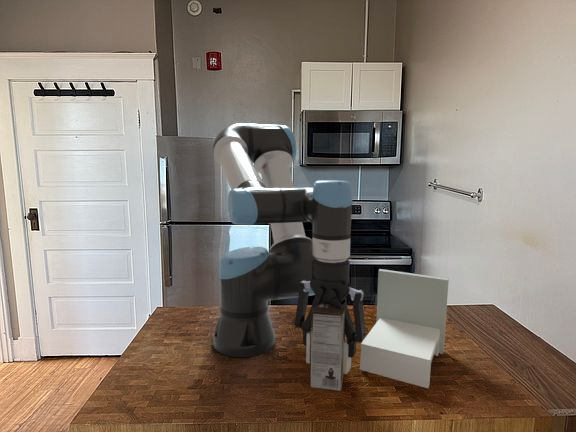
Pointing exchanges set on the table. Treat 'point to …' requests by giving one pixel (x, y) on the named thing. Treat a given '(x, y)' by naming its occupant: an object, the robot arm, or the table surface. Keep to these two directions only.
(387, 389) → the table surface
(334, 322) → the coffee box
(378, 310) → the white toy chair
